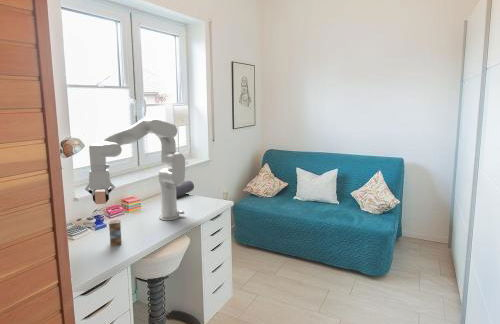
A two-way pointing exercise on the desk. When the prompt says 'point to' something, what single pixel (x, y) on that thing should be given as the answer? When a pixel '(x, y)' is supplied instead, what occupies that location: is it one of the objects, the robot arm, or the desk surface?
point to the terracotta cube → (100, 197)
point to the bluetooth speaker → (184, 188)
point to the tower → (115, 232)
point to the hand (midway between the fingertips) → (101, 201)
